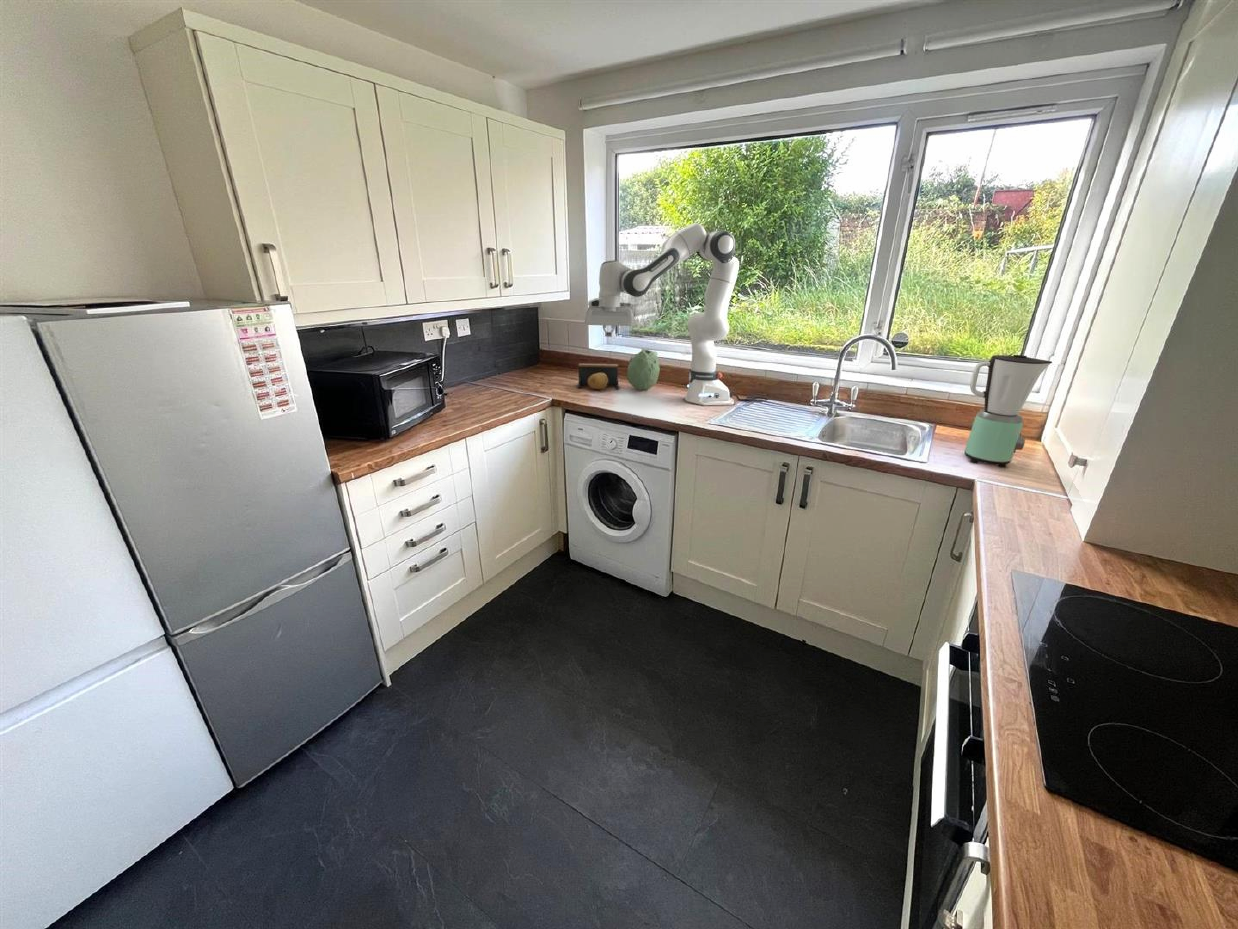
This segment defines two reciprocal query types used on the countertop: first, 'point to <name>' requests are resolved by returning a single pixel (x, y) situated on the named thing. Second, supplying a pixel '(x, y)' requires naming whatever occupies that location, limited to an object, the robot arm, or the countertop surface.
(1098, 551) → the countertop surface
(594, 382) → the potato
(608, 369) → the shoe shelf
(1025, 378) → the green blender
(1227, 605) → the countertop surface
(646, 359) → the green rounded bumpy piece
